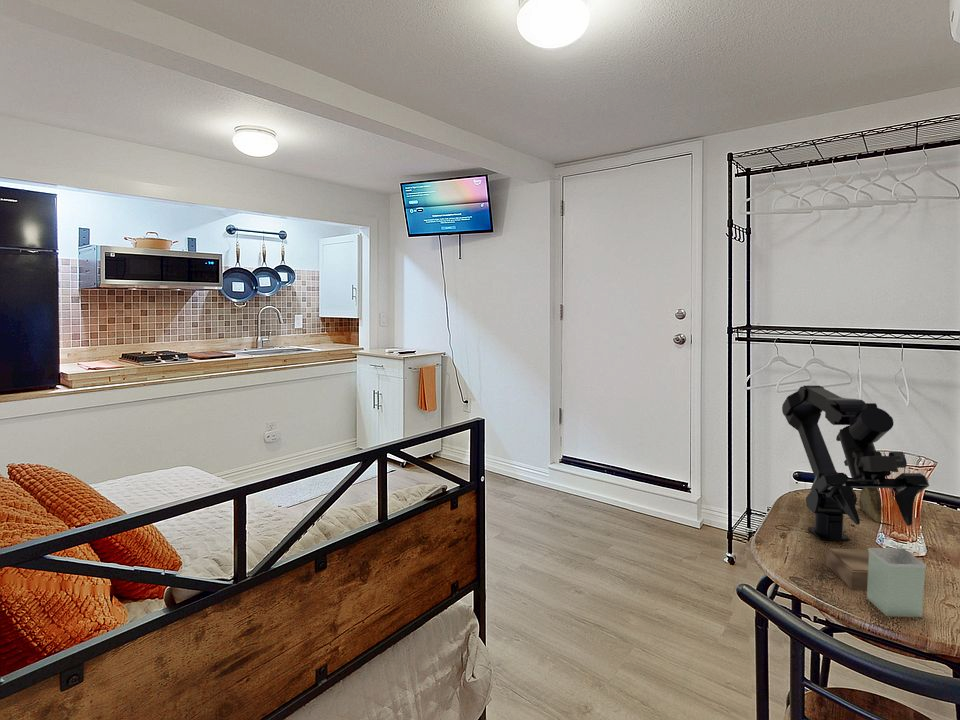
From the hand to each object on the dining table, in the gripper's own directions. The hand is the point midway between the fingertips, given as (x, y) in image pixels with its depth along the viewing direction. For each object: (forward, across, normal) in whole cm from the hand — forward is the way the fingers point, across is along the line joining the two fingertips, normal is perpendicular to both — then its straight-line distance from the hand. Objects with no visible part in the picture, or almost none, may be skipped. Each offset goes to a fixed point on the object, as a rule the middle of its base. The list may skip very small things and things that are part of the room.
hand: (883, 524), depth 107 cm
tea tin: (+15, -2, +1) cm, 15 cm away
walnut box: (+8, -2, +10) cm, 13 cm away
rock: (-13, +16, +36) cm, 42 cm away
